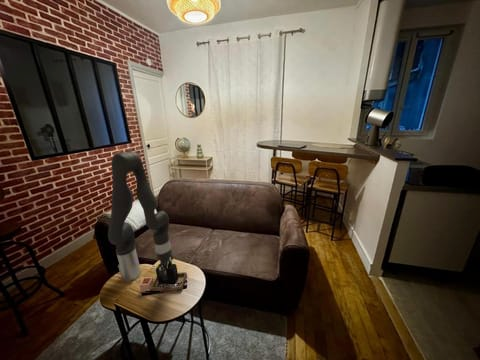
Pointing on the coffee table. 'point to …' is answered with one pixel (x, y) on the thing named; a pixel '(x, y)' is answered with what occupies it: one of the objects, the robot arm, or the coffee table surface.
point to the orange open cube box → (146, 284)
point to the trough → (180, 279)
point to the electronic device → (168, 274)
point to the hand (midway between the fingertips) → (168, 274)
